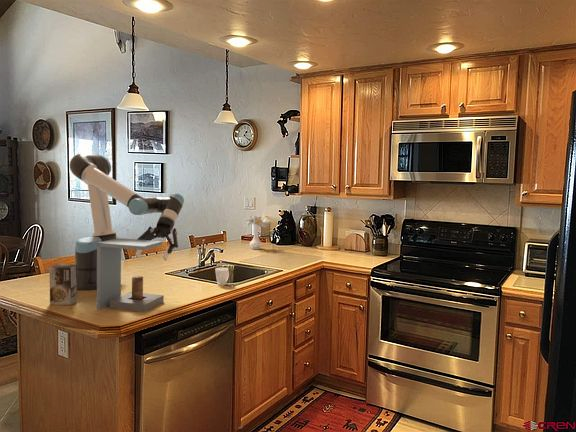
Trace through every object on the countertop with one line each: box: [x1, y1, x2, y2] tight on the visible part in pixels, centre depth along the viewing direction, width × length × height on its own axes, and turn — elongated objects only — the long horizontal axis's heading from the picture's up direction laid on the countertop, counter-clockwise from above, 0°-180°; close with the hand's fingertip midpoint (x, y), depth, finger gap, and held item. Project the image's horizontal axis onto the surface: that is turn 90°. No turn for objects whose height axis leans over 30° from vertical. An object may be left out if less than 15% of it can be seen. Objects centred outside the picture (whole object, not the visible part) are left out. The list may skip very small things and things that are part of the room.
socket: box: [109, 291, 165, 313], centre depth 202 cm, size 16×16×3 cm
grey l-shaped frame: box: [96, 237, 163, 310], centre depth 198 cm, size 21×15×28 cm
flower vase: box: [246, 215, 269, 250], centre depth 362 cm, size 13×18×25 cm
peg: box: [131, 275, 144, 300], centre depth 202 cm, size 4×4×12 cm
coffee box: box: [48, 263, 78, 306], centre depth 200 cm, size 9×6×16 cm
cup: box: [214, 267, 230, 286], centre depth 246 cm, size 7×10×8 cm
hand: (150, 257), depth 211 cm, fingers open, 13 cm apart
